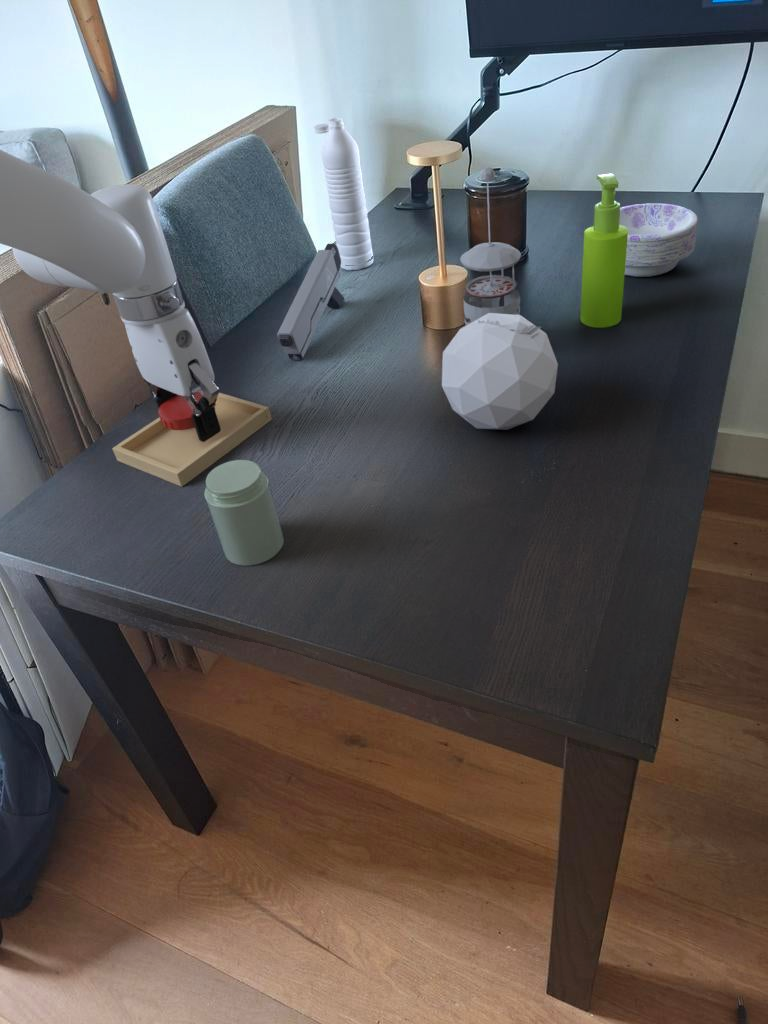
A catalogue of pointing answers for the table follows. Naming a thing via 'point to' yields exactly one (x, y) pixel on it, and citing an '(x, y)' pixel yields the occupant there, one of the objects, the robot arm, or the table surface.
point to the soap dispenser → (604, 261)
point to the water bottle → (346, 195)
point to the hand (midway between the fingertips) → (192, 427)
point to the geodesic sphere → (499, 371)
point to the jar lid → (177, 413)
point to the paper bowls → (657, 237)
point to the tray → (191, 442)
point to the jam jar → (243, 512)
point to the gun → (311, 302)
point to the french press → (491, 286)
